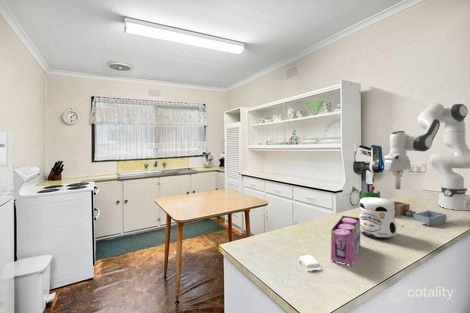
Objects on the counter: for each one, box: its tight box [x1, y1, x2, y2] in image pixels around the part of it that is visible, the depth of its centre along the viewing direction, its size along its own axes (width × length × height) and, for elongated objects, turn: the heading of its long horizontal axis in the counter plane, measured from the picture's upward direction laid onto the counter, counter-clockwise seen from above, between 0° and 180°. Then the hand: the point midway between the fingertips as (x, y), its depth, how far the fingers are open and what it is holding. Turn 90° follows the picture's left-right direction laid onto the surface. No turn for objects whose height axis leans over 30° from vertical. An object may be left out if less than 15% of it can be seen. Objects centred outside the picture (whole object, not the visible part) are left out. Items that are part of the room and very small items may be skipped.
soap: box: [298, 254, 321, 268], centre depth 94 cm, size 9×7×3 cm
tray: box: [412, 210, 447, 228], centre depth 136 cm, size 15×9×5 cm, turn 112°
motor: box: [361, 185, 381, 199], centre depth 153 cm, size 10×9×20 cm
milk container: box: [358, 197, 398, 239], centre depth 122 cm, size 17×17×18 cm
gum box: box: [330, 215, 361, 266], centre depth 102 cm, size 24×8×14 cm, turn 143°
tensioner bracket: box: [393, 200, 417, 219], centre depth 149 cm, size 12×16×8 cm
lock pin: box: [394, 170, 402, 190], centre depth 151 cm, size 4×4×12 cm
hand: (397, 177), depth 151 cm, fingers closed on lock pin, 3 cm apart
